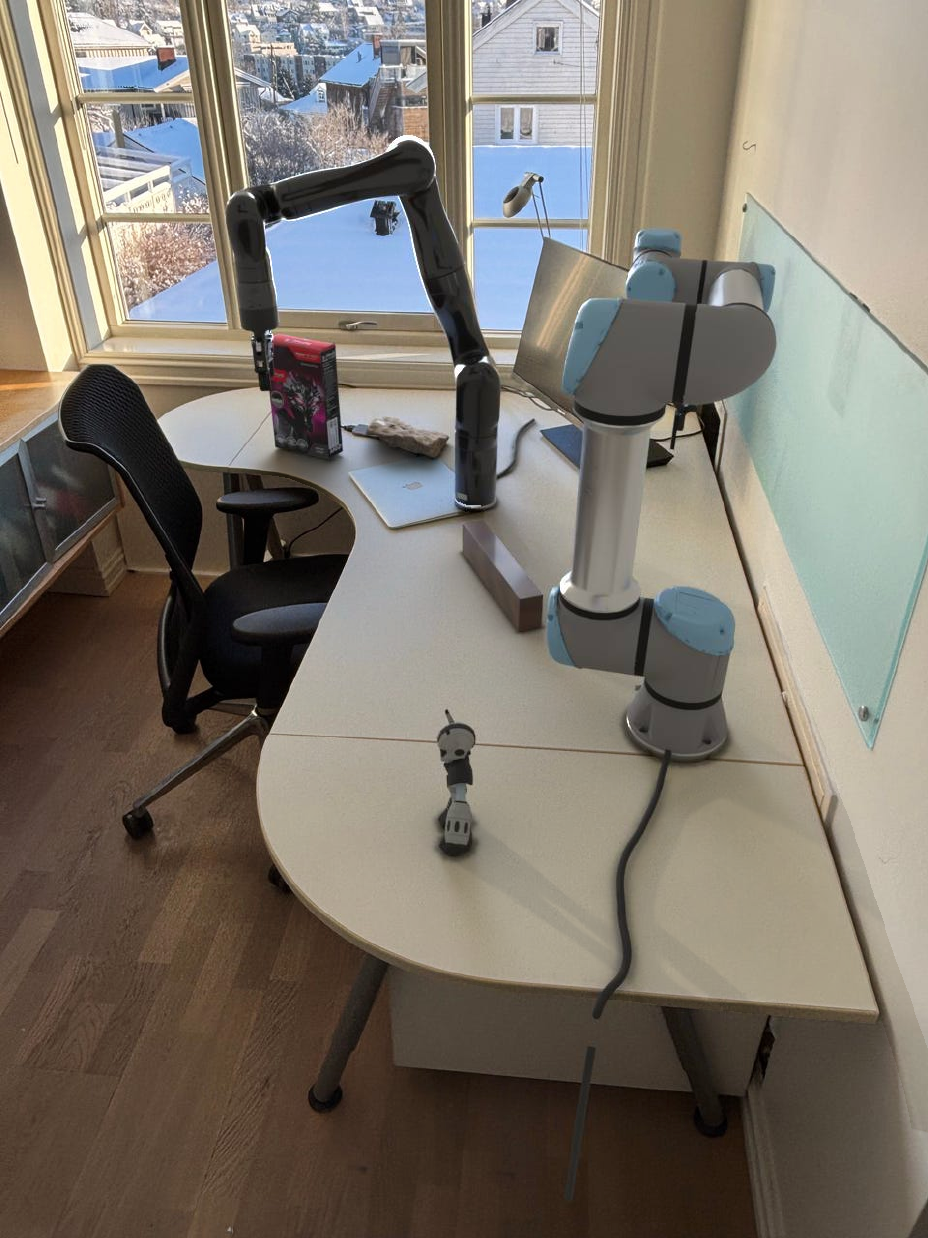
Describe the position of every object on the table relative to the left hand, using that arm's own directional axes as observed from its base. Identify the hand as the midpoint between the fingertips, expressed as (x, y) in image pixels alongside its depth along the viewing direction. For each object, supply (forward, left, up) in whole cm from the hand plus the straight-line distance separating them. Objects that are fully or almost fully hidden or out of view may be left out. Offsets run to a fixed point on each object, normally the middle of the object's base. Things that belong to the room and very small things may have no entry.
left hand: (267, 383), depth 189 cm
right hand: (+21, +73, -2) cm, 76 cm away
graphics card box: (-31, 0, -28) cm, 42 cm away
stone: (-35, +23, -28) cm, 51 cm away
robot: (+94, +45, -28) cm, 108 cm away
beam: (+30, +49, -28) cm, 64 cm away
